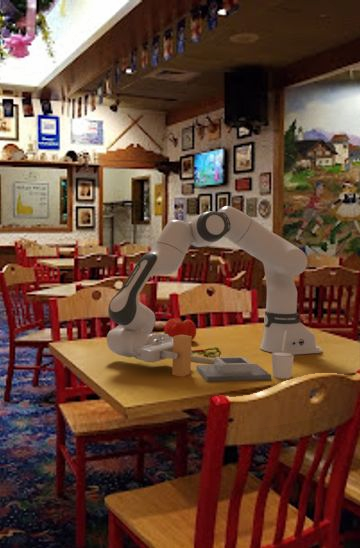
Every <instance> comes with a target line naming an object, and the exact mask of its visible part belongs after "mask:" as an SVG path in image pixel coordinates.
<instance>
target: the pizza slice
mask: <svg viewBox="0 0 360 548" xmlns="http://www.w3.org/2000/svg"><path fill="white" fill-rule="evenodd" d="M220 352H221V349H220V348H219V347H208V348H205V349H193V350H192V354H191V362H193V363H200V364H208V365H215V357H220Z"/></svg>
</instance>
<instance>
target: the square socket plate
mask: <svg viewBox="0 0 360 548" xmlns="http://www.w3.org/2000/svg"><path fill="white" fill-rule="evenodd" d="M195 369H196V371H197V372H198V373H199V374H200V376H201V377H203V379H204V380H205V381H206V382H208V383H209V382H212V383H213V382H241V381H243V382H244V381H249V382H250V381H271V380H272V374H270V373H269V372H268V371H266V370H265V369H264V368H263V367H262V366H260V365H258V364H257V363H252V361H249V360H248V359H247V358H246V357H244V356H219V357H215V364H198V365H197V364H196V368H195Z"/></svg>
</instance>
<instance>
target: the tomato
mask: <svg viewBox="0 0 360 548" xmlns="http://www.w3.org/2000/svg"><path fill="white" fill-rule="evenodd" d="M163 332H164V333H163V334H167V335H169V337H173V336H177V335H187V336H192V338H191V341H193V340H194V339H195V338H196V335H197V326H196V324H195V322H194V321H193V320H190V319H185V320H182V319H180V318H178V317H174V318H169V319H168V320H167V321H166V322H165V325H164V329H163Z"/></svg>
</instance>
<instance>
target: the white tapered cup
mask: <svg viewBox="0 0 360 548" xmlns="http://www.w3.org/2000/svg"><path fill="white" fill-rule="evenodd" d="M294 358H295V355H293V354H291V353H286V352H274V353H273V352H271V365H272V377H274V378H275V379H276V378H277V379H291V378H292V371H293V365H294Z"/></svg>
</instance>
